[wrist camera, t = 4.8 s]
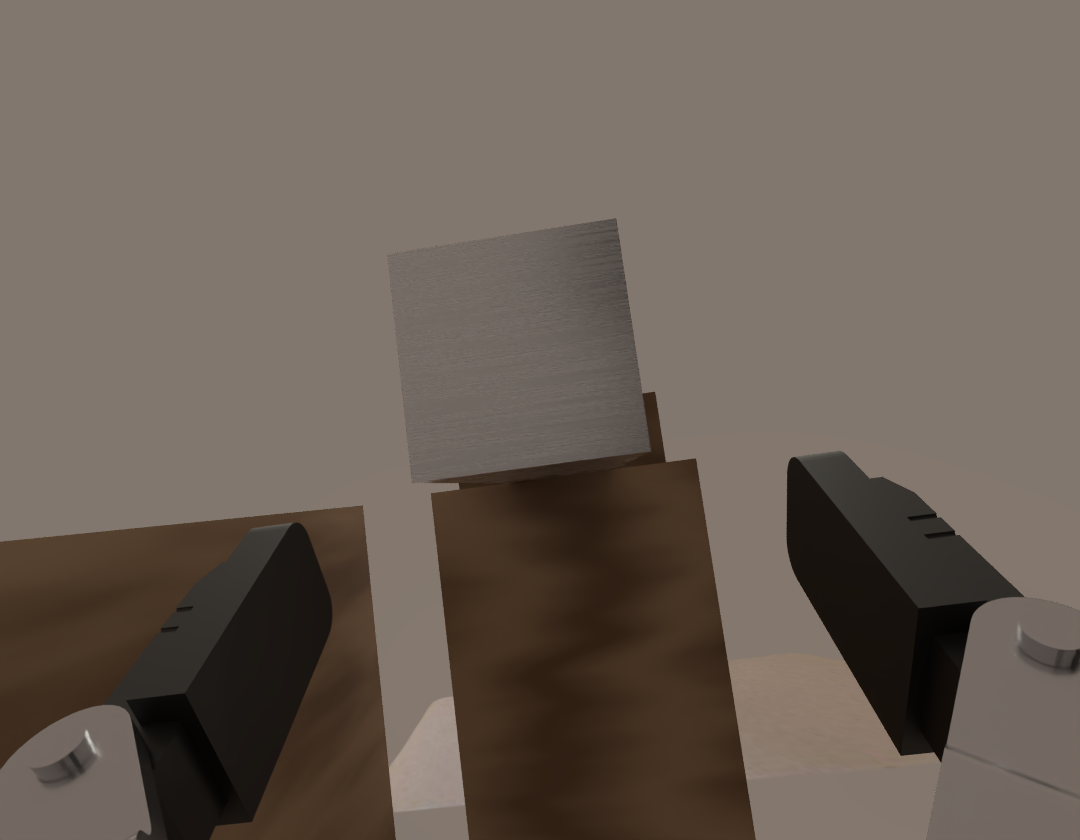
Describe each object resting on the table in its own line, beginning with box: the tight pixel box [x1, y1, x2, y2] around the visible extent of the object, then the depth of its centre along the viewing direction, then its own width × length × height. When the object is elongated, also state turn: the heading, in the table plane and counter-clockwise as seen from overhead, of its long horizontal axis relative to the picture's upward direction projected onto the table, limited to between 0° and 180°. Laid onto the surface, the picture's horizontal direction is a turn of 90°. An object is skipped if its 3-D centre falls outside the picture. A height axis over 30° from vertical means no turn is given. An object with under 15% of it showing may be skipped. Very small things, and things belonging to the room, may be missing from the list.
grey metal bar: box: [387, 219, 651, 483], centre depth 22 cm, size 25×4×5 cm, turn 176°
